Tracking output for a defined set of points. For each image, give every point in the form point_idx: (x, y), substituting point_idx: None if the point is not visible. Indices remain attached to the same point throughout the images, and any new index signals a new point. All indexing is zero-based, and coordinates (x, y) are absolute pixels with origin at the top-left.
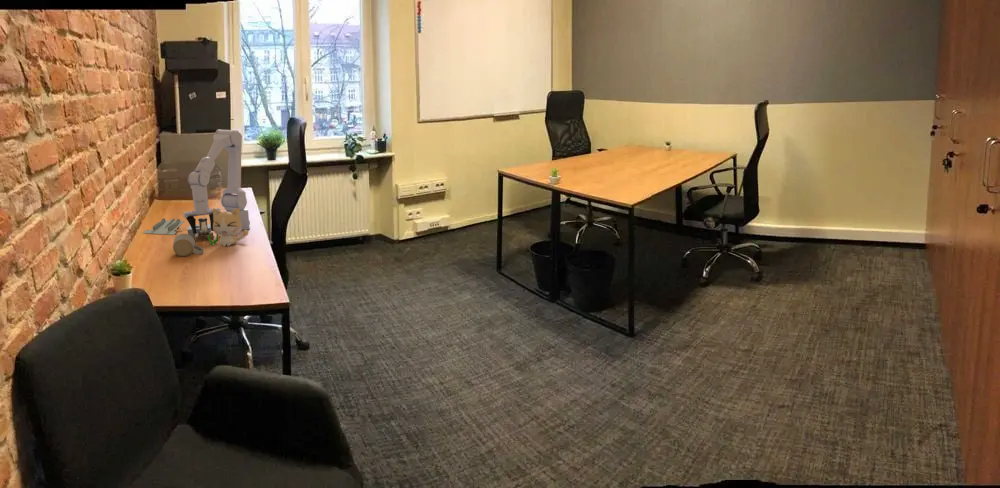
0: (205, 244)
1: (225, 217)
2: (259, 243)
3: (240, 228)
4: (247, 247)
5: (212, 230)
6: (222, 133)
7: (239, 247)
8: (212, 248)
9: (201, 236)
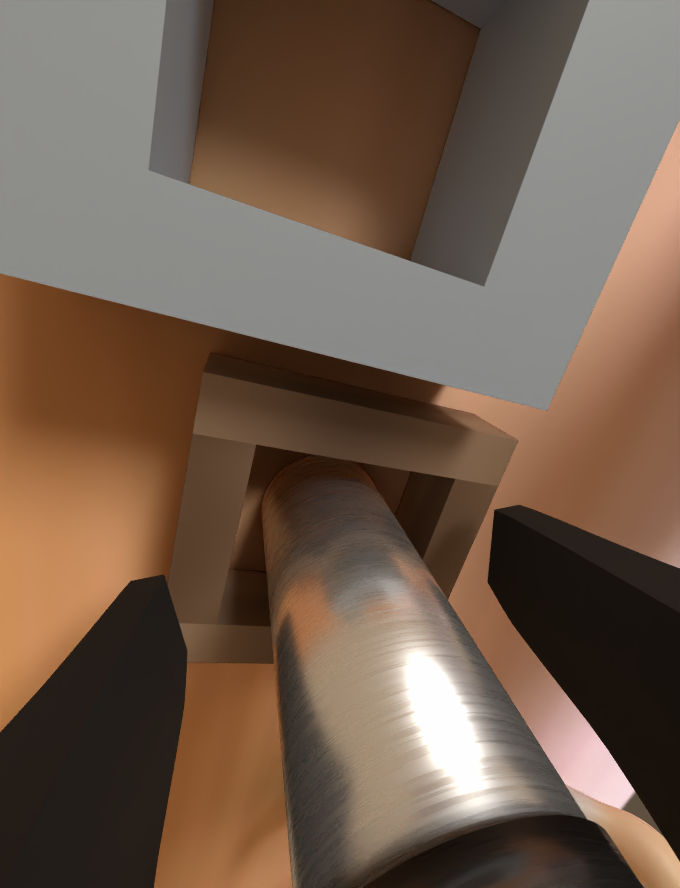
0: (261, 755)
1: None
2: (610, 803)
3: None
4: None
5: (495, 573)
6: None
7: None
8: (286, 871)
9: (262, 660)
